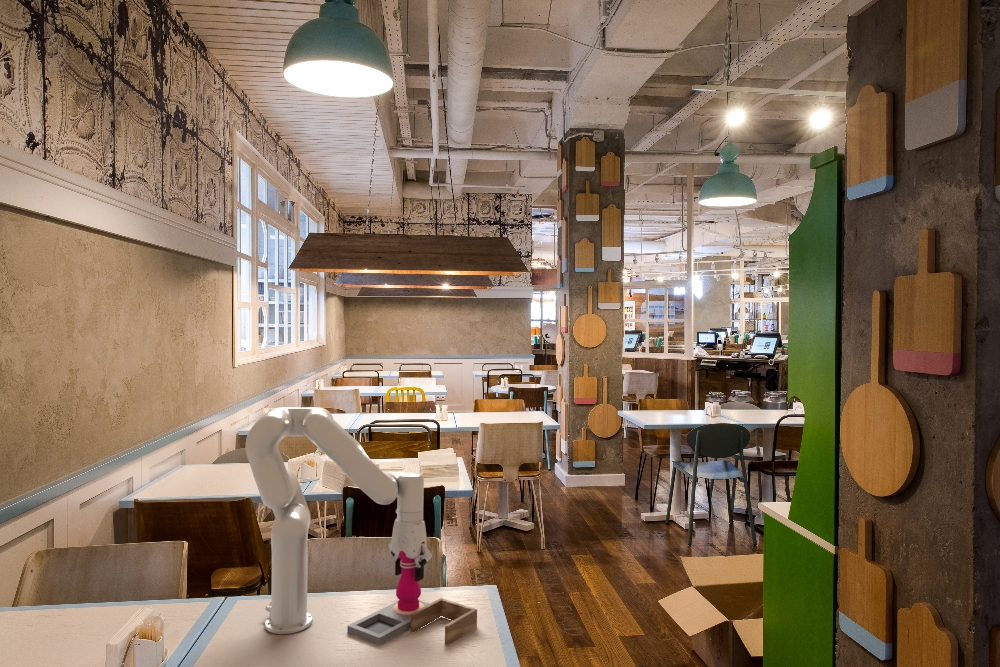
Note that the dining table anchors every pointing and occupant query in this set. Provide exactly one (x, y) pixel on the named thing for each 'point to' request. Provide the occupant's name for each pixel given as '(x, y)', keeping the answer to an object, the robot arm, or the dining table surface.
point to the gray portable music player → (383, 624)
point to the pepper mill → (407, 585)
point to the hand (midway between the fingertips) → (409, 576)
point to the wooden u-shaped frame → (457, 612)
